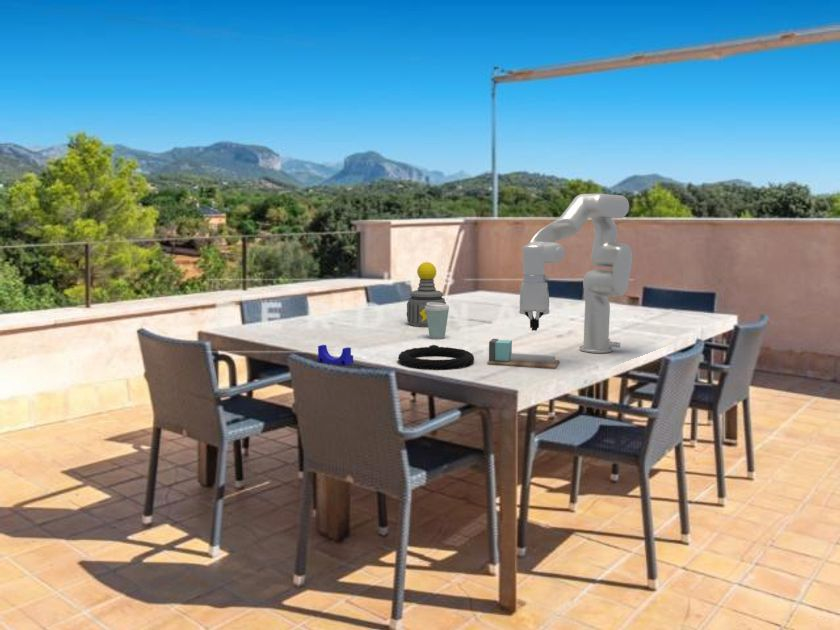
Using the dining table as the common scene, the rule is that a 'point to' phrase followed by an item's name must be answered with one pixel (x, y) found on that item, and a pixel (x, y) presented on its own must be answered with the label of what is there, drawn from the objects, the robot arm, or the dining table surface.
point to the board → (524, 364)
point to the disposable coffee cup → (437, 319)
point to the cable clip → (327, 358)
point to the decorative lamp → (423, 296)
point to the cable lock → (461, 360)
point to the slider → (503, 350)
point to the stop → (492, 349)
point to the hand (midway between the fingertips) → (534, 329)
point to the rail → (532, 358)
